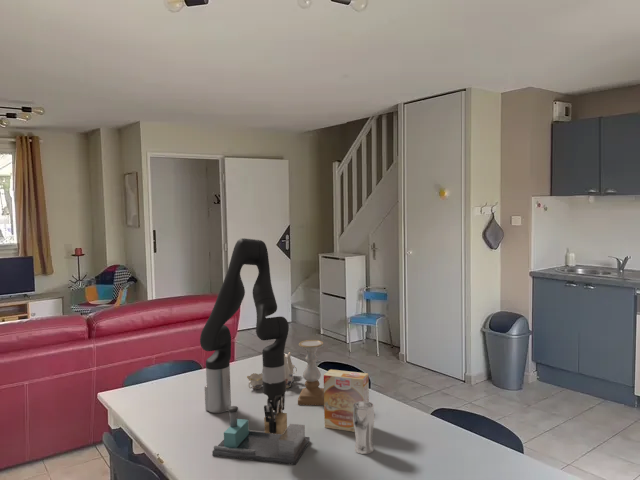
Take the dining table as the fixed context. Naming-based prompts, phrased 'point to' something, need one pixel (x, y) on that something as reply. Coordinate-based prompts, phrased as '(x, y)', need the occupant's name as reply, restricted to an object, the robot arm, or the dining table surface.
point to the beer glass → (363, 426)
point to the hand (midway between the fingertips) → (275, 428)
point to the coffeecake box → (343, 397)
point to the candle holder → (311, 375)
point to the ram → (235, 429)
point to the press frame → (269, 446)
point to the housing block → (278, 424)
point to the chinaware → (258, 381)
